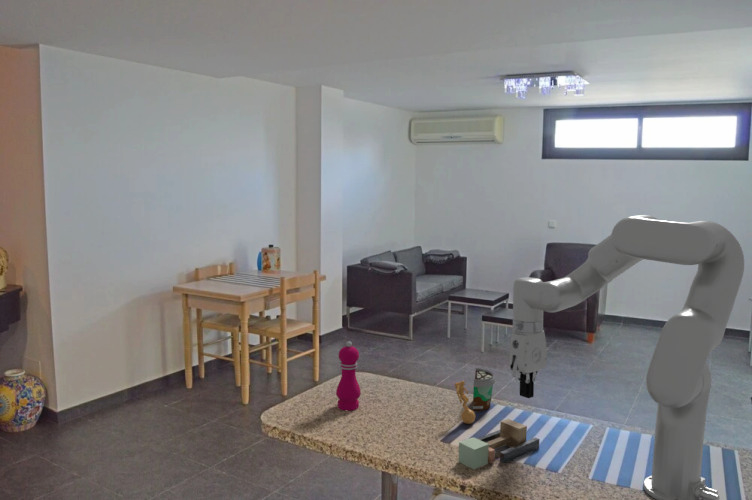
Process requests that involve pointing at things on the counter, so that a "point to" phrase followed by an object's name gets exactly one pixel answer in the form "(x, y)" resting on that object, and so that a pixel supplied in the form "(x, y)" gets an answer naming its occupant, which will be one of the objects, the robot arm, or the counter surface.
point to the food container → (482, 389)
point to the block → (473, 453)
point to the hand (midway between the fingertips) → (526, 396)
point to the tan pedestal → (507, 437)
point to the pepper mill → (348, 379)
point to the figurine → (467, 414)
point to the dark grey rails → (513, 451)
